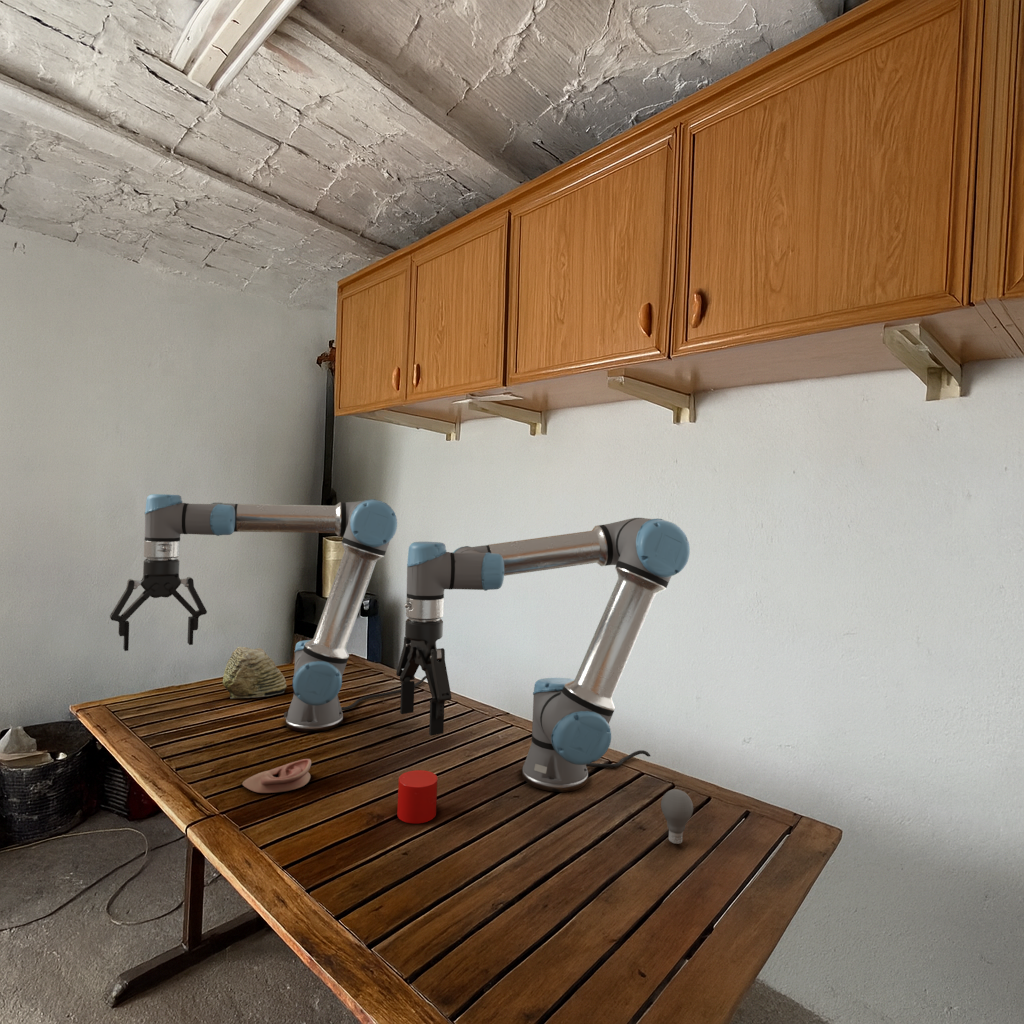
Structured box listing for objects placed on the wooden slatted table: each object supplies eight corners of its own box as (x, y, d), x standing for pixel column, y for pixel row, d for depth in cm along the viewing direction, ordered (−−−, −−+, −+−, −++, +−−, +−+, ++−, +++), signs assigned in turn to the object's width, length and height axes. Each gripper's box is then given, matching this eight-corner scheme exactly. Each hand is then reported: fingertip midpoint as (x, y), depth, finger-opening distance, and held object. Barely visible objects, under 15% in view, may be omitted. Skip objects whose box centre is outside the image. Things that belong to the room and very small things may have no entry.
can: (390, 819, 126) (391, 782, 126) (408, 801, 133) (409, 767, 133) (426, 826, 124) (427, 789, 123) (442, 808, 131) (443, 773, 131)
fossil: (218, 695, 195) (220, 647, 195) (278, 685, 208) (279, 640, 207) (228, 703, 189) (230, 653, 188) (289, 692, 201) (290, 645, 201)
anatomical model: (234, 771, 135) (265, 750, 146) (233, 789, 135) (265, 767, 146) (290, 779, 132) (318, 757, 143) (290, 798, 132) (317, 775, 143)
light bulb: (655, 834, 124) (657, 783, 124) (684, 834, 125) (687, 783, 124) (665, 851, 118) (667, 798, 118) (696, 851, 119) (698, 798, 118)
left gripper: (101, 561, 141) (98, 655, 142) (221, 558, 156) (218, 644, 157) (98, 557, 147) (95, 648, 148) (214, 556, 162) (211, 638, 163)
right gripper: (383, 609, 136) (379, 707, 136) (435, 632, 115) (432, 747, 116) (415, 607, 140) (411, 702, 141) (471, 628, 119) (467, 740, 120)
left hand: (158, 646), depth 152 cm, fingers open, 13 cm apart
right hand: (420, 723), depth 128 cm, fingers open, 13 cm apart
